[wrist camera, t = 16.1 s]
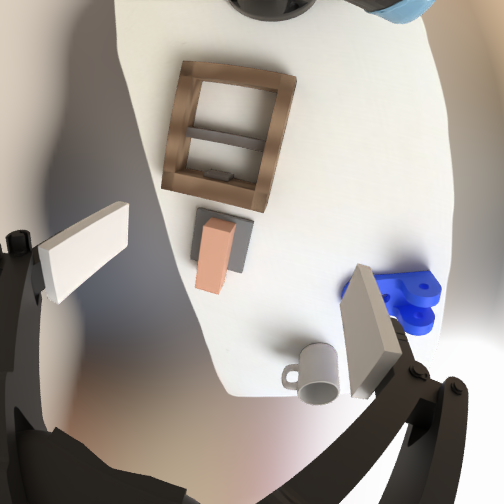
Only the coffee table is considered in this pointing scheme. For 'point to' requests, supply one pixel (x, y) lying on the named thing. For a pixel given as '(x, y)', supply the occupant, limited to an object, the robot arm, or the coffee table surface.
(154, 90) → the coffee table surface
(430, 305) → the bracket
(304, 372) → the mug
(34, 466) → the robot arm
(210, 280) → the terracotta block
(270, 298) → the coffee table surface
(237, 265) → the rubber pad
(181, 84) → the brown wooden frame
